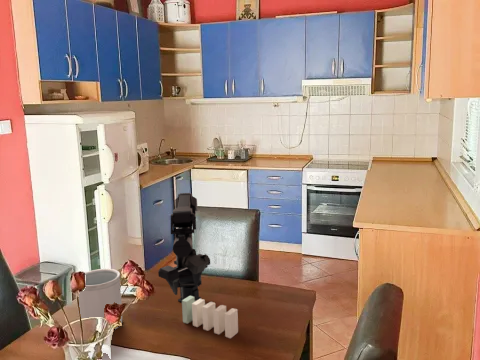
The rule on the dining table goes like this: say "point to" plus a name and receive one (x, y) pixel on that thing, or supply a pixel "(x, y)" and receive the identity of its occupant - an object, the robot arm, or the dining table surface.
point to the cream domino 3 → (219, 319)
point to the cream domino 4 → (231, 323)
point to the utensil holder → (99, 292)
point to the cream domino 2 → (208, 316)
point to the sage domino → (187, 309)
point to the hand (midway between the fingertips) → (186, 290)
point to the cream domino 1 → (198, 312)
